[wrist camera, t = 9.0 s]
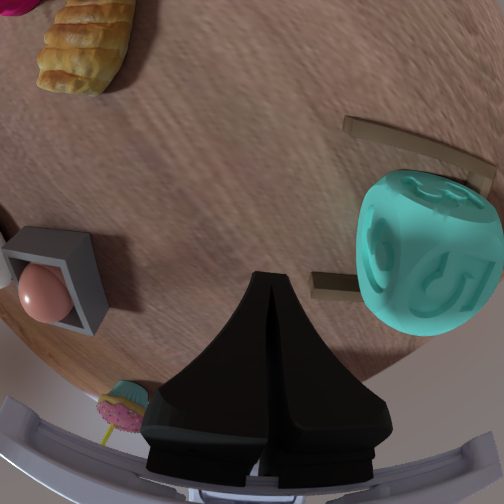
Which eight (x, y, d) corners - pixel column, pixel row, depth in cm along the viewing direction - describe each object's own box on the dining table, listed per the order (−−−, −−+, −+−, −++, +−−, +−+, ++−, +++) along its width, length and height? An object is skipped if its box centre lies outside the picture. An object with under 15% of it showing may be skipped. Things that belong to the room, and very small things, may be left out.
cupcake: (110, 390, 38) (89, 452, 28) (103, 365, 33) (75, 438, 23) (160, 407, 39) (144, 472, 29) (161, 384, 34) (140, 463, 24)
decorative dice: (432, 263, 21) (472, 331, 14) (349, 263, 22) (374, 343, 15) (457, 176, 17) (523, 229, 10) (365, 164, 17) (418, 219, 10)
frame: (429, 291, 23) (437, 305, 21) (308, 281, 23) (311, 298, 21) (481, 159, 15) (496, 167, 14) (344, 115, 15) (353, 119, 14)
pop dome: (92, 298, 25) (66, 343, 20) (50, 289, 25) (23, 327, 20) (77, 248, 22) (41, 292, 17) (33, 242, 22) (-2, 279, 17)
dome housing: (109, 307, 26) (93, 336, 23) (48, 293, 26) (31, 317, 23) (89, 233, 21) (64, 260, 18) (24, 226, 21) (0, 248, 18)
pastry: (87, -24, 9) (58, -34, 6) (165, -23, 11) (143, -41, 7) (50, 86, 14) (17, 93, 11) (118, 99, 16) (87, 106, 12)
